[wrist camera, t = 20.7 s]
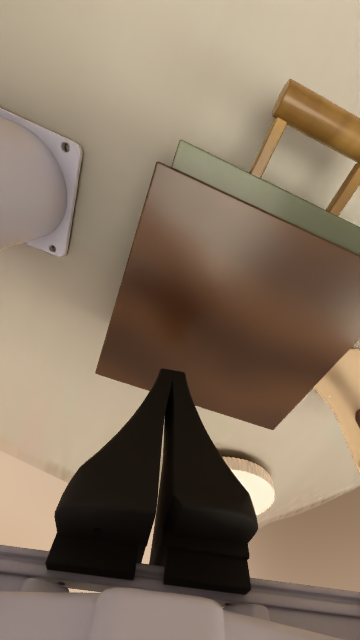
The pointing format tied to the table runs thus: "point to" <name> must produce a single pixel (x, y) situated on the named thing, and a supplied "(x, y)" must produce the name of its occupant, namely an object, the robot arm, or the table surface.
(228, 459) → the plastic lid
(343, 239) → the drawer
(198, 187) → the cabinet
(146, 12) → the table surface
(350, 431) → the beer glass
